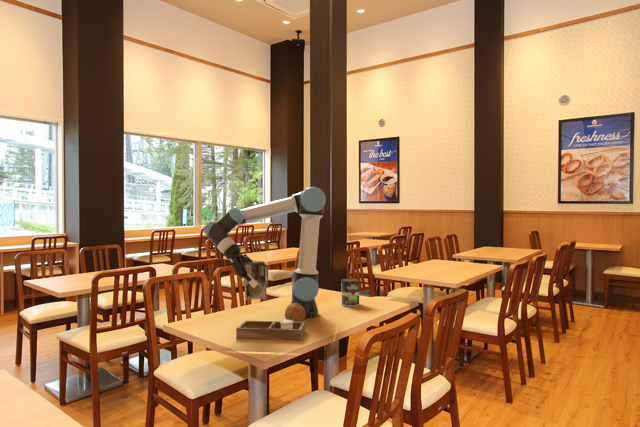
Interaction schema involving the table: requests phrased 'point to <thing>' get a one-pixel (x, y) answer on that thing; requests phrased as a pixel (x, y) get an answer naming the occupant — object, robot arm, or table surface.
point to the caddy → (269, 330)
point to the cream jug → (286, 324)
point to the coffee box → (259, 276)
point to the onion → (295, 312)
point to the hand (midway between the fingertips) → (261, 283)
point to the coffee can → (350, 292)
